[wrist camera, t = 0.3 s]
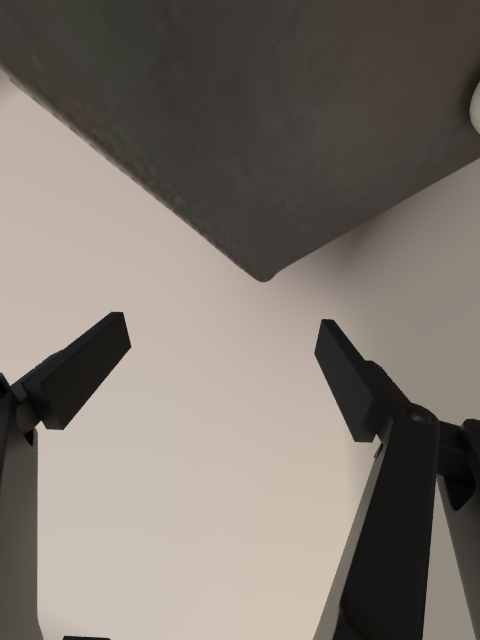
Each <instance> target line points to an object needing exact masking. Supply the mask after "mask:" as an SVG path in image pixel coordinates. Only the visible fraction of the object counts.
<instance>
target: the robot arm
mask: <svg viewBox="0 0 480 640" xmlns="http://www.w3.org/2000/svg"><path fill="white" fill-rule="evenodd" d="M130 348H131V344H130V339H129V335H128V331H127V327H126V323H125V318H124V314H123V312H111V313H109V314H108V315H107V316H106V317H104V318H103V319H102V320H101V321H99V322H98V323H97V324H95V325H94V326H93V327H92V328H90V329H89V330H88V331H86V332H85V333H84V334H83V335H81V336H80V337H79V338H77V339H76V340H75V341H74V342H73V343H71V344H70V345H69V346H68V347H66V348H65V349H63V350H61V351H59V352H57V353H54V354H53V355H51V356H49V357H48V358H47V359H45V360H44V361H43V362H42V363H40V364H39V365H37V366H36V367H35V369H32V370H31V371H29V372H28V373H27V374H26V375H24V376H23V377H22V378H20V379H19V380H18V381H17V382H15V383H14V384H12V385H11V386H10V385H9V383H8V382H7V380H6V378H5V377H4V375H3V373H0V640H43V636H42V632H41V629H40V626H39V623H38V618H37V473H38V469H37V468H38V465H37V464H38V451H37V450H38V439H37V438H38V433H37V430H36V428H35V426H36V425H37V424H38V423H39V422H40V421H41V420H42V422H43V424H44V426H45V427H46V429H55V430H64V428H65V427H66V426H67V425H68V424H69V422H70V421H71V420H72V419H73V417H74V416H75V415H76V414H77V413H78V411H79V410H80V409H81V408H82V406H83V405H84V404H85V403H86V402H87V400H88V399H89V398H90V397H91V396H92V394H93V393H94V392H95V391H96V389H97V388H98V387H99V386H100V384H101V383H102V382H103V381H104V380H105V378H106V377H107V376H108V375H109V374H110V372H111V371H112V370H113V369H114V367H115V366H116V365H117V364H118V363H119V361H120V360H121V359H122V358H123V356H124V355H125V354H126V353H127V352H128V350H129V349H130ZM314 354H315V356H316V358H317V361H318V363H319V365H320V367H321V369H322V372H323V374H324V376H325V378H326V380H327V383H328V385H329V387H330V389H331V391H332V393H333V395H334V397H335V400H336V402H337V404H338V406H339V409H340V410H341V413H342V415H343V417H344V419H345V421H346V424H347V426H348V428H349V430H350V432H351V434H352V437H353V439H354V441H355V442H371V443H372V442H373V440H374V437H375V435H376V434H377V435H378V437H379V439H380V441H381V444H380V446H379V448H378V450H377V452H376V454H375V456H374V458H375V460H374V464H373V466H372V469H371V472H370V475H369V478H368V481H367V484H366V487H365V489H364V493H363V496H362V498H361V501H360V504H359V507H358V510H357V513H356V516H355V519H354V522H353V525H352V528H351V531H350V533H349V536H348V540H347V542H346V546H345V549H344V551H343V554H342V557H341V560H340V563H339V566H338V569H337V572H336V575H335V578H334V580H333V583H332V586H331V589H330V592H329V595H328V598H327V601H326V604H325V607H324V610H323V613H322V616H321V619H320V622H319V625H318V627H317V630H316V633H315V635H314V638H313V640H422V638H423V626H424V614H425V602H426V591H427V579H428V567H429V555H430V543H431V532H432V520H433V509H434V497H435V485H436V478H437V482H438V486H439V490H440V494H441V498H442V502H443V507H444V511H445V515H446V519H447V523H448V527H449V531H450V535H451V539H452V543H453V547H454V551H455V556H456V559H457V564H458V568H459V572H460V576H461V580H462V584H463V588H464V592H465V596H466V600H467V604H468V609H469V613H470V616H471V621H472V625H473V629H474V633H475V637H476V640H480V420H476V419H467V420H465V421H464V422H463V424H462V425H461V426H457V425H454V424H450V423H447V422H443V421H439V420H438V419H437V417H436V416H435V415H434V414H433V413H432V412H430V411H429V410H428V409H426V408H424V407H422V406H420V405H417V404H414V403H411V402H410V401H409V400H408V398H407V397H406V396H405V395H404V394H403V393H402V391H401V390H400V389H399V388H398V386H397V385H396V384H395V383H394V382H392V379H391V378H390V377H389V376H387V373H386V372H385V371H384V370H383V369H382V367H380V366H379V365H378V364H376V363H375V362H373V361H365V360H364V359H363V357H362V356H361V355H360V353H359V352H358V351H357V350H356V348H355V347H354V346H353V344H352V343H351V342H350V341H349V339H348V338H347V337H346V335H345V334H344V333H343V331H342V330H341V329H340V327H339V326H338V325H337V324H336V322H335V321H334V320H330V319H322V320H321V325H320V330H319V334H318V339H317V343H316V348H315V353H314ZM63 640H110V639H109V638H97V637H77V636H64V638H63Z"/></svg>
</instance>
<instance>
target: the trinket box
mask: <svg viewBox="0 0 480 640" xmlns="http://www.w3.org/2000/svg"><path fill="white" fill-rule="evenodd" d="M470 119H471V122H472V125H473V126H474V128H475V130H476V131H477V132H478V133H479V134H480V80H479V82H478V85H477V87H476V89H475V91H474V93H473V96H472V99H471V104H470Z"/></svg>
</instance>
